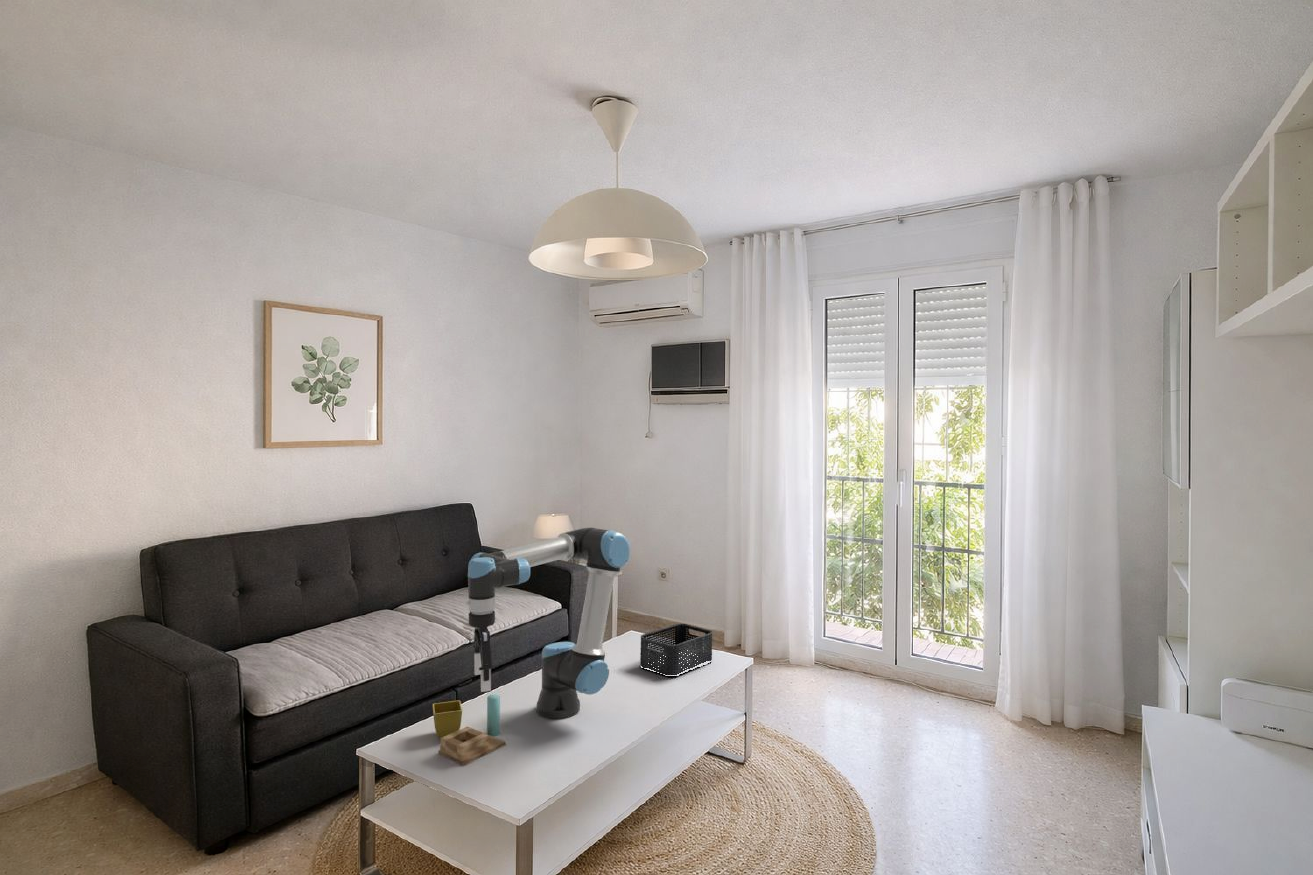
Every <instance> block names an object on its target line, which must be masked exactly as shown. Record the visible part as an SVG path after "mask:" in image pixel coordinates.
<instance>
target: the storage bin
mask: <svg viewBox="0 0 1313 875" xmlns="http://www.w3.org/2000/svg"><path fill="white" fill-rule="evenodd" d="M690 630H692V631H695V632H700V633H704V634H703V635H701V636H700V635H697V634H693V633H691V632H690ZM687 650H688V651H687ZM681 652H682V653H681ZM679 653H680V654H679ZM685 653H686V654H685ZM691 653H692V654H691ZM683 654H684V655H683ZM689 654H690V655H689ZM695 654H696V655H695ZM663 655H664V656H663ZM687 655H688V656H687ZM693 655H694V656H693ZM665 656H666V657H665ZM697 656H698V657H697ZM660 657H661V658H660ZM681 657H682V658H681ZM639 658H640V662H639V666H640V665H641V666H642V667H643V668H649V669H651V670H654V671H656V672H659V673H662V674H665V675H677V674H679V673H681V672H683V671H685V670H687V669H690V668H693V667H695V666H697V665H699V664H701V663H704V662H706V661H711V660H712V661H713V631H712V630H710V629H707V628H702V627H699V626H695V625H691V624H687V623H675V624H673V625H669V626H666V627H662V628H660V629H655V630H653V631H650V632H646V633H643V634H641V635H640V657H639ZM656 658H657V659H656ZM679 658H680V659H679ZM685 658H686V659H685ZM660 659H661V660H660ZM683 659H684V660H683ZM689 659H690V660H689ZM695 659H696V660H695ZM663 660H664V661H663ZM687 660H688V661H687ZM658 661H659V662H658ZM697 661H698V662H697ZM653 662H654V663H653ZM660 662H661V663H660ZM681 662H682V663H681ZM687 662H688V663H687ZM648 663H649V664H648ZM663 663H664V664H663ZM679 663H680V664H679ZM651 664H652V665H651ZM683 664H684V665H683ZM689 664H690V665H689ZM695 664H696V665H695ZM658 666H659V667H658ZM653 667H654V668H653ZM681 667H682V668H681ZM687 667H688V668H687ZM655 668H656V669H655ZM685 668H686V669H685ZM658 669H659V670H658ZM683 669H684V670H683Z"/></svg>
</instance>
